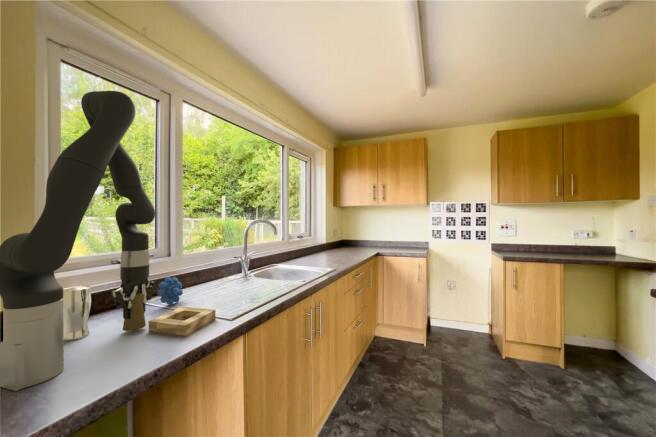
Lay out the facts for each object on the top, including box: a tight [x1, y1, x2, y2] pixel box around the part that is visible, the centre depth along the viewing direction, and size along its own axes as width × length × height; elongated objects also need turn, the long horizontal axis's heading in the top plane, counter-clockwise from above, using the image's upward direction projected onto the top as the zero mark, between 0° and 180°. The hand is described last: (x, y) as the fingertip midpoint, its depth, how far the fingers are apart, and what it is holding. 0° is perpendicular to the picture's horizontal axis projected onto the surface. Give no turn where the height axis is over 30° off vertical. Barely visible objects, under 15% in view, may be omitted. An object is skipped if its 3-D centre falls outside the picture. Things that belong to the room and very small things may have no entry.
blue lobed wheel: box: [157, 276, 184, 306], centre depth 109 cm, size 12×7×12 cm, turn 164°
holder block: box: [148, 306, 216, 338], centre depth 88 cm, size 14×14×4 cm
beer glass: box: [63, 285, 92, 342], centre depth 80 cm, size 7×7×15 cm
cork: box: [122, 293, 147, 332], centre depth 84 cm, size 6×6×11 cm
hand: (134, 316), depth 84 cm, fingers closed on cork, 3 cm apart
